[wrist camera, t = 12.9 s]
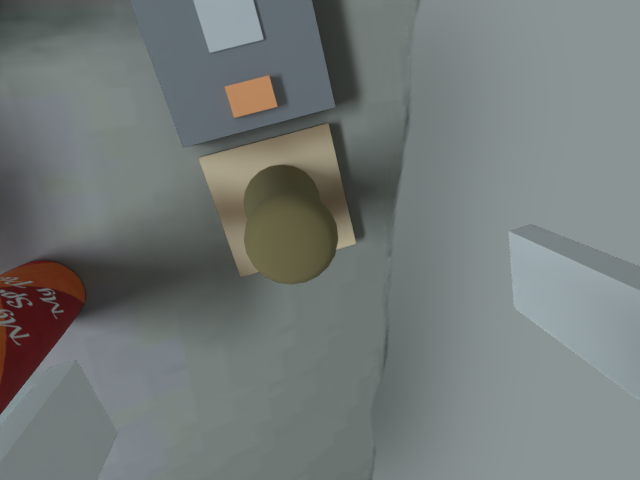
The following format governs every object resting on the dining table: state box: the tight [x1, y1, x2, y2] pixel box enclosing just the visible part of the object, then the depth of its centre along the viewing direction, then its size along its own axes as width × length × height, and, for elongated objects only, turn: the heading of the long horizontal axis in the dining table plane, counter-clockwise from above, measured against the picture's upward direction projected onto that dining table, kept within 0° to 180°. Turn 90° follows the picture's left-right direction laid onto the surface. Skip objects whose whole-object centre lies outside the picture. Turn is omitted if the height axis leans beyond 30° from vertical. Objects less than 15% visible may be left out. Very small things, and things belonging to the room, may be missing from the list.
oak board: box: [199, 123, 356, 277], centre depth 30 cm, size 10×10×1 cm
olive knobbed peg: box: [243, 164, 338, 284], centre depth 24 cm, size 6×6×11 cm
